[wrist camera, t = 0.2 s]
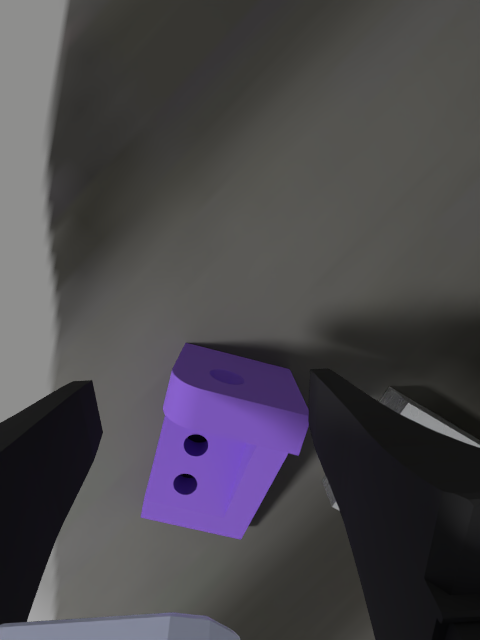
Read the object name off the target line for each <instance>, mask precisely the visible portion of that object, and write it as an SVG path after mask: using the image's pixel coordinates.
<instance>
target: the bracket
mask: <svg viewBox="0 0 480 640" xmlns="http://www.w3.org/2000/svg"><path fill="white" fill-rule="evenodd" d="M163 411H164V413H165V418H164V422H163V426H162V430H161V434H160V438H159V442H158V446H157V450H156V454H155V458H154V462H153V466H152V470H151V474H150V478H149V482H148V486H147V490H146V494H145V498H144V503H143V508H142V513H141V518H146V519H150V520H155V521H159V522H164V523H168V524H173V525H178V526H182V527H187V528H191V529H196V530H200V531H205V532H209V533H214V534H218V535H223V536H227V537H232V538H236V539H241V538H242V537H243V535H244V533H245V531H246V529H247V528H248V526H249V524H250V522H251V520H252V518H253V517H254V515H255V513H256V511H257V509H258V508H259V506H260V504H261V502H262V500H263V499H264V497H265V495H266V493H267V491H268V489H269V488H270V486H271V484H272V482H273V480H274V479H275V477H276V475H277V473H278V471H279V469H280V468H281V466H282V464H283V462H284V460H285V459H286V457H287V455H288V453H290V454H294V455H298V456H299V453H300V450H301V447H302V444H303V441H304V438H305V435H306V432H307V429H308V426H309V422H308V415H309V410H308V408H307V405H306V403H305V401H304V399H303V397H302V395H301V392H300V390H299V388H298V386H297V384H296V382H295V379H294V377H293V375H292V373H291V371H290V369H287V368H283V367H279V366H275V365H271V364H267V363H264V362H260V361H256V360H252V359H248V358H244V357H240V356H236V355H232V354H228V353H224V352H221V351H217V350H213V349H209V348H205V347H201V346H197V345H193V344H189V343H185V345H184V347H183V349H182V351H181V353H180V355H179V357H178V359H177V361H176V363H175V365H174V367H173V369H172V373H171V377H170V381H169V385H168V389H167V393H166V397H165V401H164V405H163ZM193 434H199V435H202V436H203V437H205V438H206V440H207V441H205V442H200V443H199V442H194V441H191V440H190V439H188V438H187V437H188V436H190V435H193ZM180 474H190V475H192V476H193V478H186V477H183V476H181V475H180Z"/></svg>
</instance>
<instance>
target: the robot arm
mask: <svg viewBox="0 0 480 640" xmlns="http://www.w3.org/2000/svg"><path fill="white" fill-rule="evenodd" d="M308 422H309V426H310V430H311V435H312V439H313V442H314V446H315V449H316V452H317V454H318V457H319V460H320V462H321V465H322V467H323V470H324V472H325V475H326V477H327V480H328V482H329V485H330V487H331V490H332V492H333V495H334V497H335V500H336V502H337V505H338V507H339V510H340V513H341V516H342V518H343V521H344V524H345V528H346V531H347V535H348V538H349V542H350V545H351V548H352V552H353V555H354V559H355V563H356V566H357V570H358V574H359V577H360V581H361V585H362V589H363V592H364V596H365V600H366V604H367V608H368V612H369V616H370V620H371V624H372V627H373V631H374V635H375V639H376V640H480V448H479V447H476V446H473V445H470V444H467V443H464V442H462V441H459V440H457V439H454V438H452V437H449V436H446V435H444V434H441V433H439V432H437V431H434V430H432V429H430V428H427V427H425V426H423V425H421V424H419V423H417V422H415V421H413V420H411V419H409V418H407V417H405V416H403V415H401V414H399V413H397V412H395V411H394V410H392V409H390V408H388V407H387V406H385V405H383V404H382V403H380V402H378V401H377V400H375V399H373V398H372V397H370V396H369V395H367V394H366V393H364V392H363V391H361V390H360V389H358V388H357V387H355V386H354V385H352V384H351V383H349V382H348V381H347V380H345V379H344V378H342V377H341V376H339V375H338V374H336V373H335V372H333V371H332V370H330V369H311V370H310V389H309V415H308ZM102 433H103V430H102V426H101V421H100V416H99V411H98V406H97V401H96V397H95V392H94V387H93V382H92V380H91V381H73V382H71V383H69V384H67V385H65V386H63V387H61V388H59V389H58V390H56V391H54V392H52V393H51V394H49V395H47V396H46V397H44V398H43V399H41V400H39V401H37V402H36V403H34V404H32V405H31V406H29V407H27V408H26V409H24V410H23V411H21V412H19V413H17V414H16V415H14V416H12V417H10V418H8V419H7V420H5V421H3V422H1V423H0V640H241V639H240V637H239V636H238V635H237V634H236V633H235V632H234V631H233V630H232V629H230V628H228V627H226V626H224V625H222V624H221V623H219V622H217V621H215V620H213V619H211V618H209V617H208V616H202V615H192V614H182V613H173V612H171V613H156V614H141V615H126V616H111V617H95V618H80V619H65V620H50V621H35V622H27V619H28V616H29V613H30V610H31V607H32V604H33V601H34V598H35V595H36V593H37V590H38V586H39V584H40V581H41V578H42V575H43V573H44V570H45V567H46V564H47V562H48V559H49V556H50V554H51V551H52V548H53V546H54V543H55V541H56V538H57V536H58V534H59V531H60V529H61V527H62V525H63V523H64V521H65V519H66V517H67V515H68V512H69V510H70V508H71V506H72V504H73V502H74V500H75V498H76V496H77V494H78V492H79V490H80V488H81V486H82V484H83V482H84V480H85V478H86V476H87V474H88V472H89V469H90V467H91V465H92V463H93V461H94V458H95V455H96V453H97V450H98V447H99V443H100V440H101V437H102Z"/></svg>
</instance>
